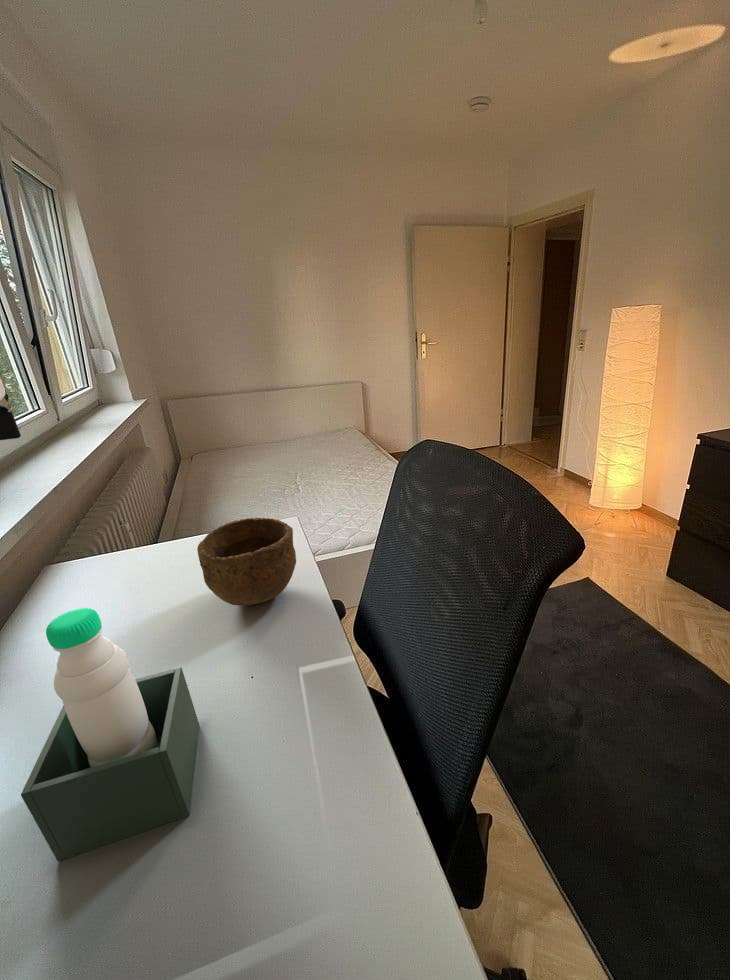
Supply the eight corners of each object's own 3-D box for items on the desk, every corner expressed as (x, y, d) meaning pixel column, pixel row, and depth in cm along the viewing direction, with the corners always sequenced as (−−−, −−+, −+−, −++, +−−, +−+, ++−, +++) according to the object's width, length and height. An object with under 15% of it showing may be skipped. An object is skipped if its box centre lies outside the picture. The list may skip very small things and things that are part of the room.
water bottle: (111, 764, 59) (43, 608, 50) (169, 745, 61) (115, 592, 52) (97, 816, 52) (17, 648, 43) (162, 793, 55) (99, 628, 45)
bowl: (304, 612, 89) (293, 547, 83) (205, 633, 85) (186, 565, 79) (300, 566, 106) (291, 510, 100) (217, 581, 102) (203, 523, 96)
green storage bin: (57, 862, 49) (20, 795, 45) (94, 756, 61) (67, 696, 57) (189, 815, 53) (166, 750, 49) (199, 725, 65) (181, 666, 61)
